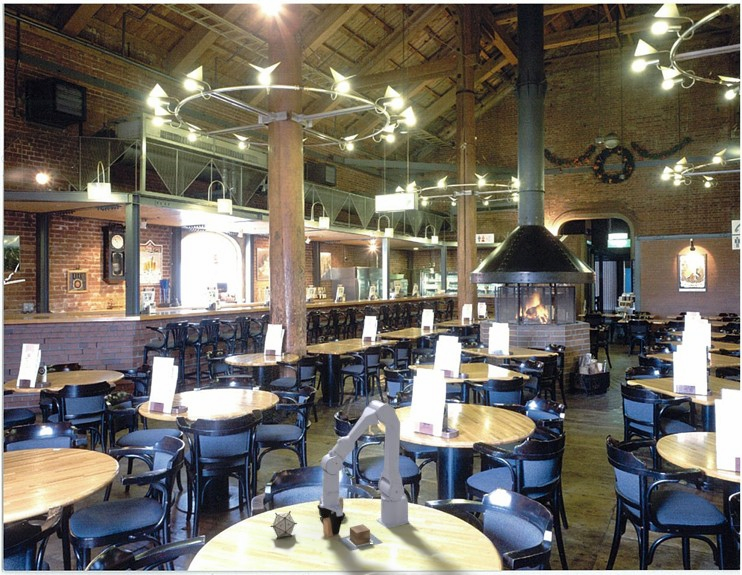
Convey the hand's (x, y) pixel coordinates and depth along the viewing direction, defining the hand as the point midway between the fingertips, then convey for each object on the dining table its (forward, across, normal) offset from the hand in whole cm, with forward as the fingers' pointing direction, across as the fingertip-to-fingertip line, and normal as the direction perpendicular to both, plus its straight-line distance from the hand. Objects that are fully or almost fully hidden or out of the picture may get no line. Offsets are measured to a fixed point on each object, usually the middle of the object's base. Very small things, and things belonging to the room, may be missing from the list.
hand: (331, 529), depth 188 cm
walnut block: (+1, +10, +6) cm, 12 cm away
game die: (+2, -6, -15) cm, 16 cm away
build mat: (+1, +10, +6) cm, 12 cm away
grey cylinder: (+2, -15, +7) cm, 17 cm away
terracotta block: (+2, 0, 0) cm, 2 cm away
